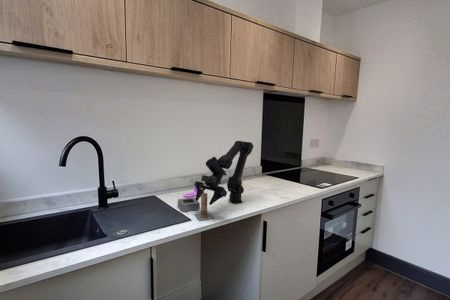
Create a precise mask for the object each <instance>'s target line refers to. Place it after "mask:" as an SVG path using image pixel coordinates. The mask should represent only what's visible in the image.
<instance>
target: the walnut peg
mask: <svg viewBox="0 0 450 300" xmlns="http://www.w3.org/2000/svg"><path fill="white" fill-rule="evenodd" d="M207 212H208V193H206V192H204V193H202V194H201V197H200V213H199V214H200V217H201V218H207V217H208V215H209V214H208V213H207Z"/></svg>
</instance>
